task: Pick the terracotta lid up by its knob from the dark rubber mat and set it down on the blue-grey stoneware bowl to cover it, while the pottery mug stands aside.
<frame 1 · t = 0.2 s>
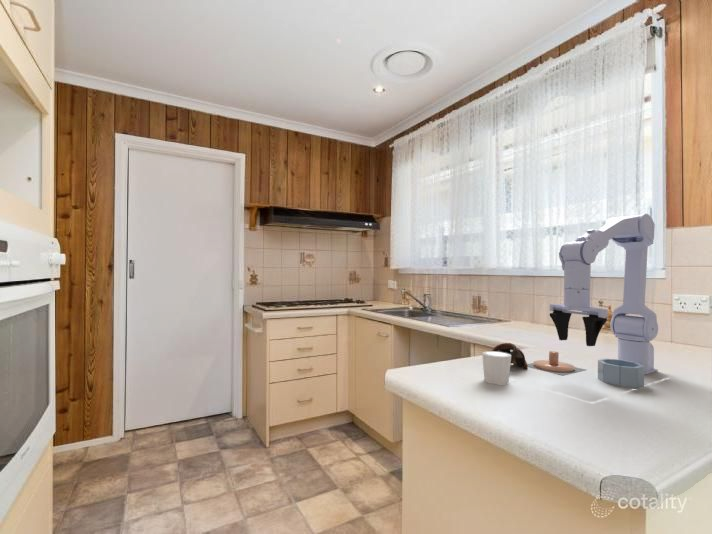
hand: (576, 342, 93), 10 cm above the countertop, tool pointing down, fingers open, 7 cm apart
lid: (553, 367, 106), resting on mat
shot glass: (496, 382, 93), on the countertop
mat: (553, 368, 106), on the countertop
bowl: (620, 382, 93), on the countertop
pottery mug: (508, 368, 106), on the countertop
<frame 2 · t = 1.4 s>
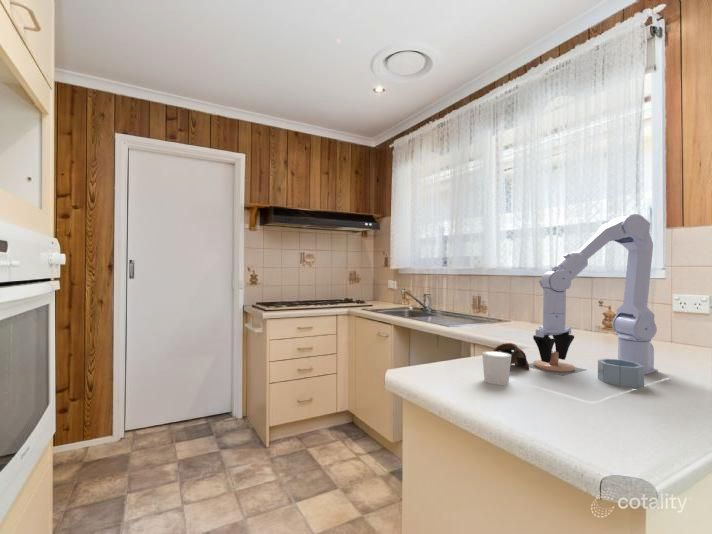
hand: (553, 360, 106), 2 cm above the countertop, tool pointing down, fingers open, 7 cm apart
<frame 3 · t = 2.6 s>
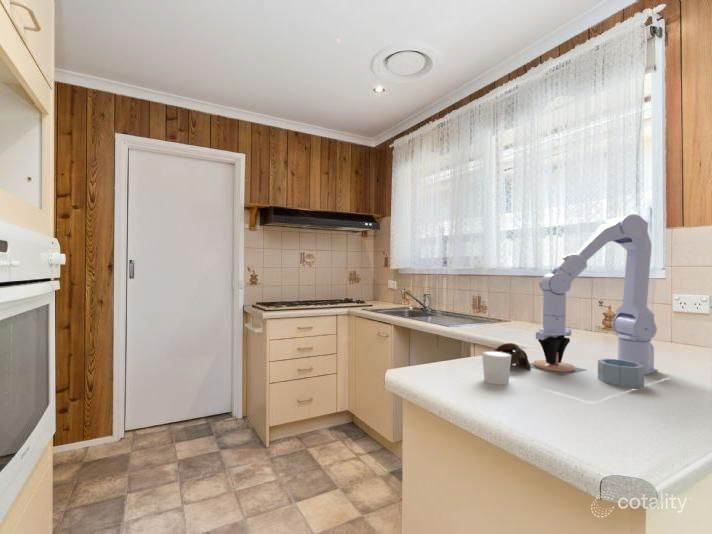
hand: (553, 362, 106), 2 cm above the countertop, tool pointing down, fingers closed on lid, 2 cm apart
lid: (553, 367, 106), resting on mat, touching gripper
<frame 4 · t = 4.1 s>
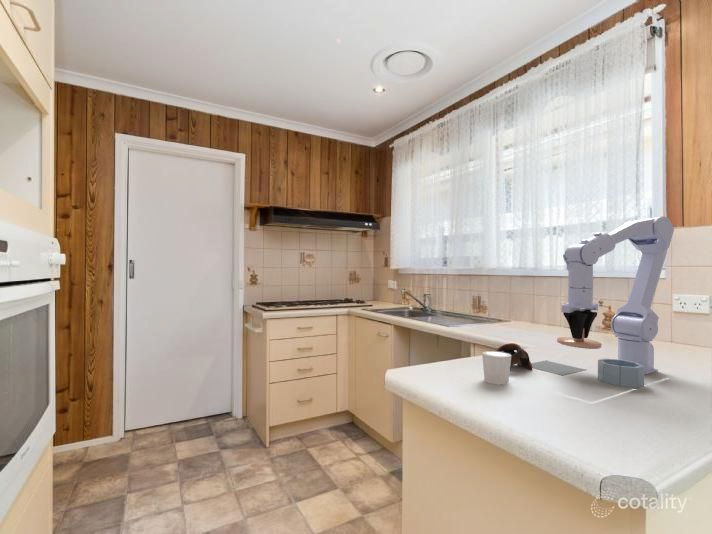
hand: (580, 338, 100), 10 cm above the countertop, tool pointing down, fingers closed on lid, 2 cm apart
lid: (578, 344, 101), point 8 cm above the countertop, touching gripper
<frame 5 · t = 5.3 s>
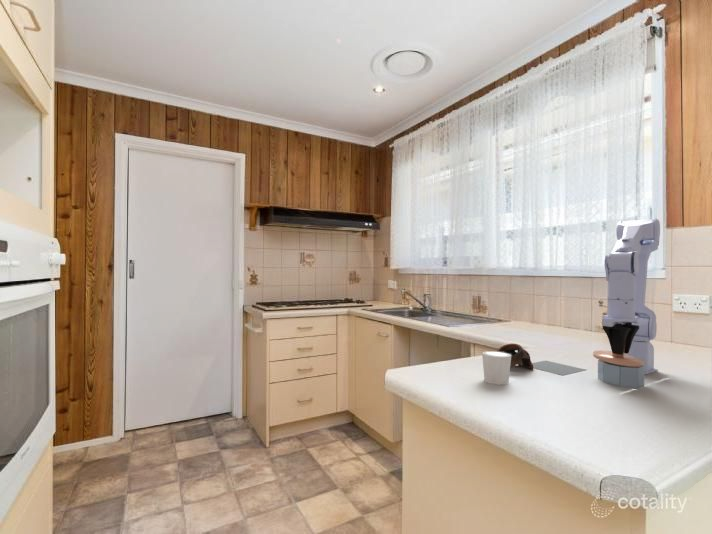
hand: (620, 353, 93), 7 cm above the countertop, tool pointing down, fingers closed on lid, 2 cm apart
lid: (617, 359, 94), point 6 cm above the countertop, tilted 5°, touching gripper
when the fingers open (7 cm above the countertop, at t = 5.9 s): lid stays where it is, resting on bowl.
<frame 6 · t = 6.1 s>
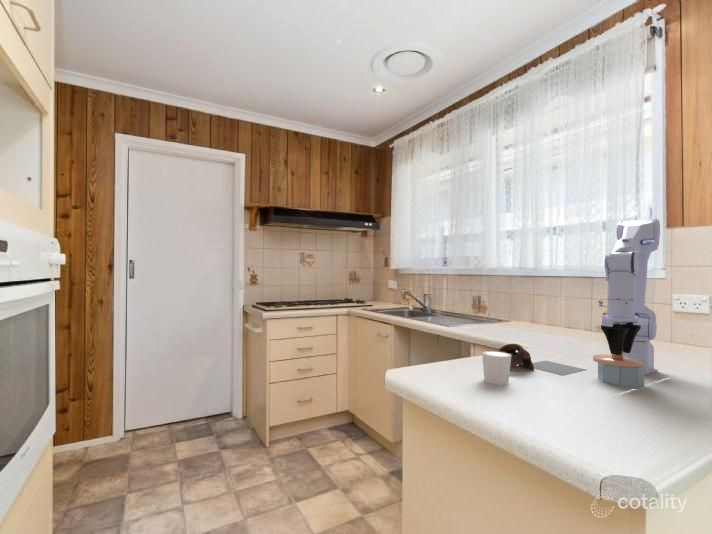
hand: (620, 353, 93), 7 cm above the countertop, tool pointing down, fingers open, 4 cm apart
lid: (617, 362, 94), point 5 cm above the countertop, touching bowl
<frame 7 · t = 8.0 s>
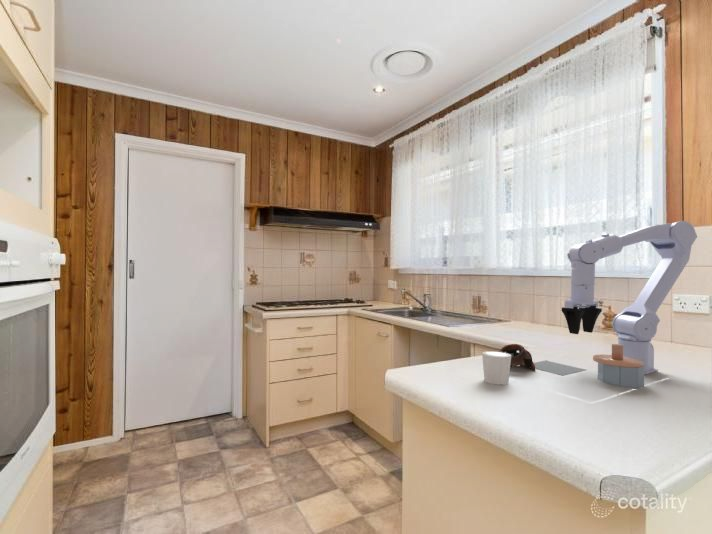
hand: (581, 332, 105), 10 cm above the countertop, tool pointing down, fingers open, 7 cm apart
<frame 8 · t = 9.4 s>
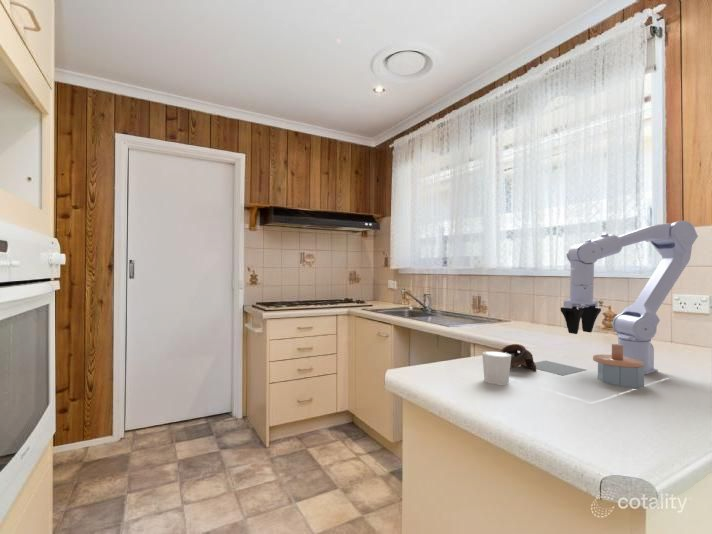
hand: (580, 332, 106), 10 cm above the countertop, tool pointing down, fingers open, 7 cm apart
at the end: lid 0.7 cm off-centre on the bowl, point 5.0 cm above the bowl's base; lid tilted 0°; the gripper is holding nothing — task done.
